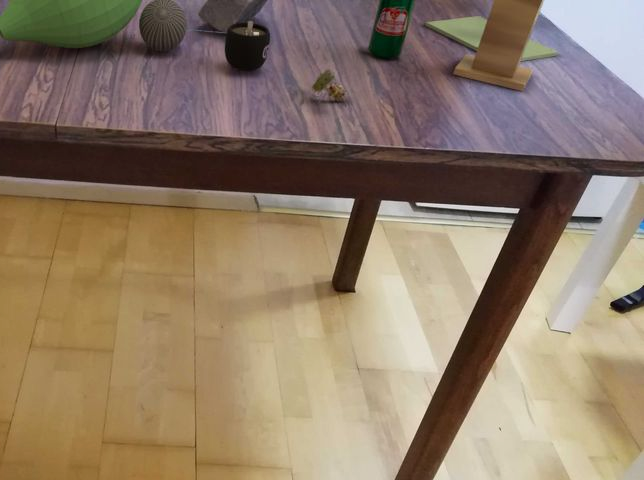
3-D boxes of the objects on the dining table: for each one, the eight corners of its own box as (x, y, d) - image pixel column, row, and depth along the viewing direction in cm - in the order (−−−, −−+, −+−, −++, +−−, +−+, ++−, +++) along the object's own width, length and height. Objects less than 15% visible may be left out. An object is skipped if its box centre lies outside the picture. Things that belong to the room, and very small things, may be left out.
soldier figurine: (330, 77, 90) (352, 95, 93) (327, 73, 91) (348, 91, 94) (319, 90, 91) (341, 107, 94) (316, 86, 92) (337, 103, 94)
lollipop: (235, -32, 108) (214, 1, 114) (140, -8, 97) (122, 28, 103) (270, 18, 107) (247, 49, 113) (179, 48, 97) (158, 80, 103)
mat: (557, 55, 112) (558, 51, 111) (502, 64, 107) (503, 60, 107) (477, 19, 123) (479, 15, 123) (425, 25, 119) (426, 22, 119)
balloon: (-19, 108, 105) (148, 19, 109) (-12, 100, 92) (178, 0, 96) (-74, 12, 99) (104, -77, 104) (-75, -11, 86) (130, -112, 91)
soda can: (366, 58, 106) (386, -29, 98) (367, 47, 110) (387, -38, 102) (400, 62, 105) (423, -24, 97) (400, 51, 109) (422, -33, 101)
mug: (266, 79, 97) (274, 23, 92) (222, 75, 98) (227, 19, 93) (265, 48, 106) (272, -4, 101) (224, 45, 106) (229, -8, 101)
